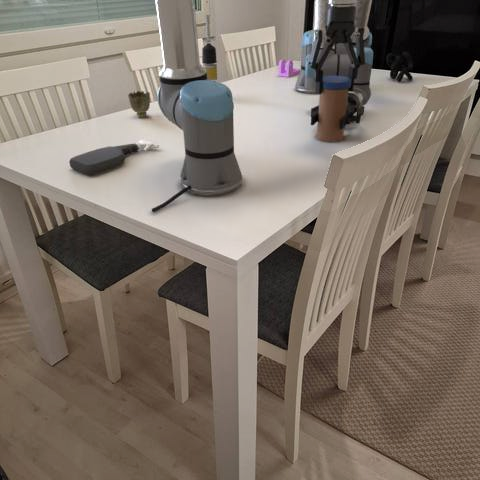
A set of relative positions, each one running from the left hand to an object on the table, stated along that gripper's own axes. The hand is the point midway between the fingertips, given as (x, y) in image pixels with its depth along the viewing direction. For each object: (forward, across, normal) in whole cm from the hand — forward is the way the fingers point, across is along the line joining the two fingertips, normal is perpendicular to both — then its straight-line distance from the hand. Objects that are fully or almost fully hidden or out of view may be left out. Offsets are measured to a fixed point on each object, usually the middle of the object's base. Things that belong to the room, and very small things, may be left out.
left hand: (334, 91), depth 130 cm
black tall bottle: (+14, -26, +56) cm, 64 cm away
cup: (+14, -55, +40) cm, 69 cm away
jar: (+14, 0, 0) cm, 14 cm away
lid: (-3, 0, 0) cm, 3 cm away
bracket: (+14, +19, +89) cm, 92 cm away
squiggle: (+14, +61, +62) cm, 88 cm away
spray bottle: (+14, -64, 0) cm, 66 cm away
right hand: (+8, -3, -4) cm, 9 cm away
